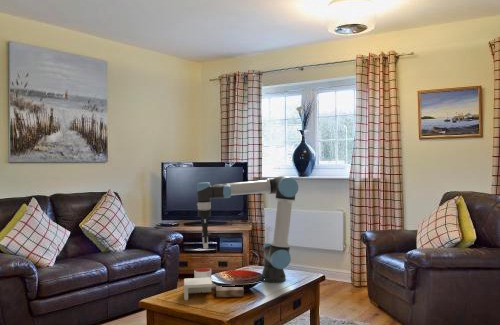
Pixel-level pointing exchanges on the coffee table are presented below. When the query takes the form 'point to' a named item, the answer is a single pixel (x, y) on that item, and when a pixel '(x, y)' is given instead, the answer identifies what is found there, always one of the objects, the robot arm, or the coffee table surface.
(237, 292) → the board
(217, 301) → the coffee table surface
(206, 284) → the shelf
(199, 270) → the cup
